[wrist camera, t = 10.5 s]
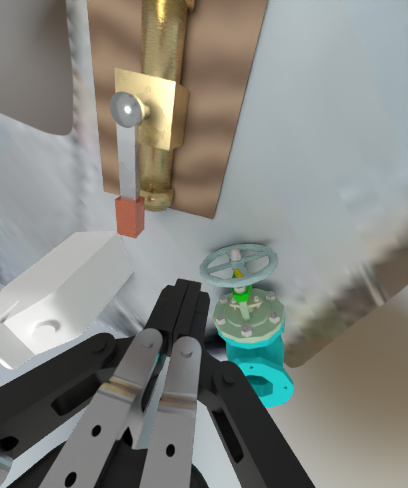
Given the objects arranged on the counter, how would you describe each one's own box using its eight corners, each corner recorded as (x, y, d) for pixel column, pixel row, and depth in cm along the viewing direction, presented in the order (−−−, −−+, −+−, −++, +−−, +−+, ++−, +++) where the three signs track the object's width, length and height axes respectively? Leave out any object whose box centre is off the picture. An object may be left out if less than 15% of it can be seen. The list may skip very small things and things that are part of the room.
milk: (75, 232, 47) (-68, 328, 25) (118, 231, 45) (2, 335, 23) (95, 271, 53) (-6, 375, 31) (133, 271, 51) (53, 384, 29)
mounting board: (89, -58, 23) (80, -68, 22) (272, -18, 22) (273, -26, 21) (108, 189, 39) (103, 191, 38) (213, 216, 39) (212, 219, 38)
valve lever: (147, 97, 20) (135, 94, 18) (145, 229, 29) (137, 238, 27) (119, 91, 20) (104, 87, 18) (126, 224, 29) (116, 233, 27)
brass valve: (147, -35, 23) (81, -145, 13) (205, -22, 22) (180, -125, 13) (142, 194, 38) (110, 218, 29) (176, 203, 38) (155, 230, 28)
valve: (224, 404, 39) (182, 281, 28) (230, 332, 55) (205, 235, 44) (300, 410, 36) (286, 271, 25) (283, 331, 51) (270, 225, 40)
